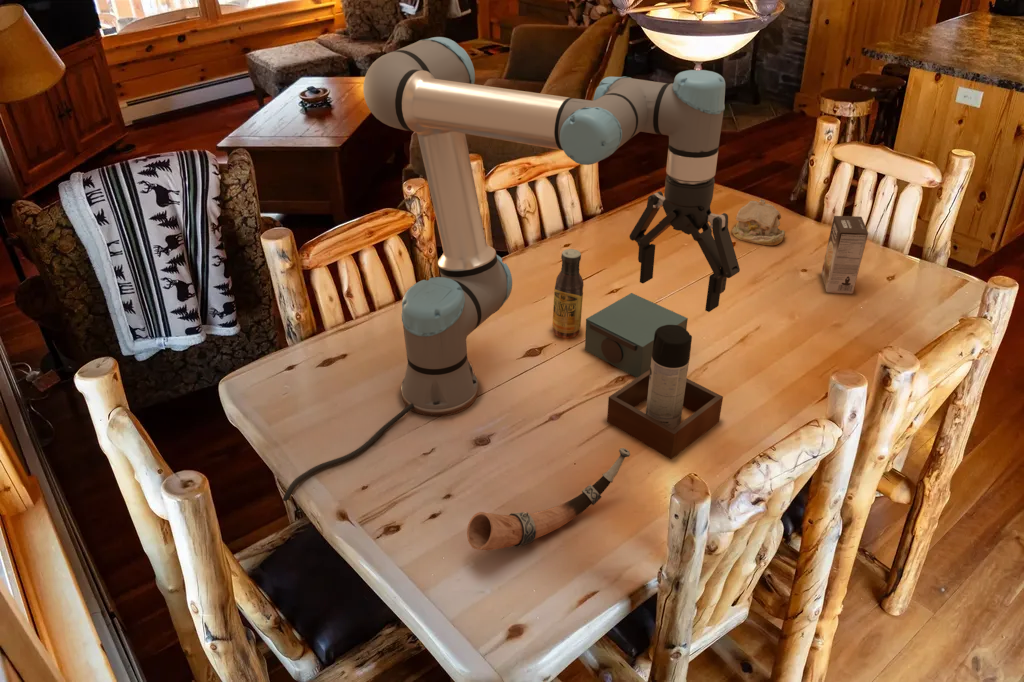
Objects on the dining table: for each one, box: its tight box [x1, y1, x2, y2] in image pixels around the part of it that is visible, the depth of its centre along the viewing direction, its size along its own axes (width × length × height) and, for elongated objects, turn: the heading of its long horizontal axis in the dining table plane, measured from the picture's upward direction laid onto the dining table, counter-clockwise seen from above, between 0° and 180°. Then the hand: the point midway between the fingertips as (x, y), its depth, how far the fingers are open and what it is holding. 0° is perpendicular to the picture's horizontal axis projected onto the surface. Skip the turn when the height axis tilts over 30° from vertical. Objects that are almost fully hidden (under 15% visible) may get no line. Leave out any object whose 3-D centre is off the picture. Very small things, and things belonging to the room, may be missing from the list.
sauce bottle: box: [551, 248, 584, 339], centre depth 173 cm, size 6×6×20 cm
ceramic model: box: [731, 199, 786, 246], centre depth 214 cm, size 14×11×10 cm
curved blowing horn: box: [466, 447, 631, 551], centre depth 128 cm, size 6×30×10 cm, turn 121°
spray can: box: [645, 325, 693, 429], centre depth 147 cm, size 7×7×20 cm
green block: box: [584, 292, 689, 379], centre depth 170 cm, size 16×15×8 cm
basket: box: [606, 370, 724, 460], centre depth 150 cm, size 15×15×6 cm
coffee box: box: [820, 215, 869, 295], centre depth 189 cm, size 9×6×16 cm
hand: (677, 294), depth 136 cm, fingers open, 13 cm apart
